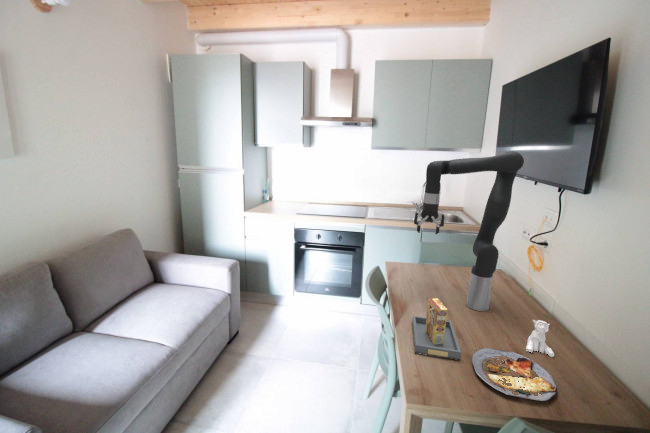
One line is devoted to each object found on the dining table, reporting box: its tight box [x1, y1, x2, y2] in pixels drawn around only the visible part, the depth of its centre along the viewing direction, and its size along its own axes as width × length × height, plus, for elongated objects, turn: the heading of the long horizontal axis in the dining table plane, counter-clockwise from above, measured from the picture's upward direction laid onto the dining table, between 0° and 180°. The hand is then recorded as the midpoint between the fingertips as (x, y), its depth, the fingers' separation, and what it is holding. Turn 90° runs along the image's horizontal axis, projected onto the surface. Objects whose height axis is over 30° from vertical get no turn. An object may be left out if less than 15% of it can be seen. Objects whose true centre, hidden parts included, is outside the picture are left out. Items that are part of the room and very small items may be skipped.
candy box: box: [425, 298, 448, 345], centre depth 122 cm, size 9×4×15 cm, turn 5°
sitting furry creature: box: [525, 319, 555, 358], centre depth 120 cm, size 10×9×12 cm
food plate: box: [471, 347, 558, 402], centre depth 106 cm, size 25×23×4 cm
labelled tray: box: [411, 315, 462, 361], centre depth 124 cm, size 16×21×4 cm
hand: (427, 233), depth 156 cm, fingers open, 8 cm apart
